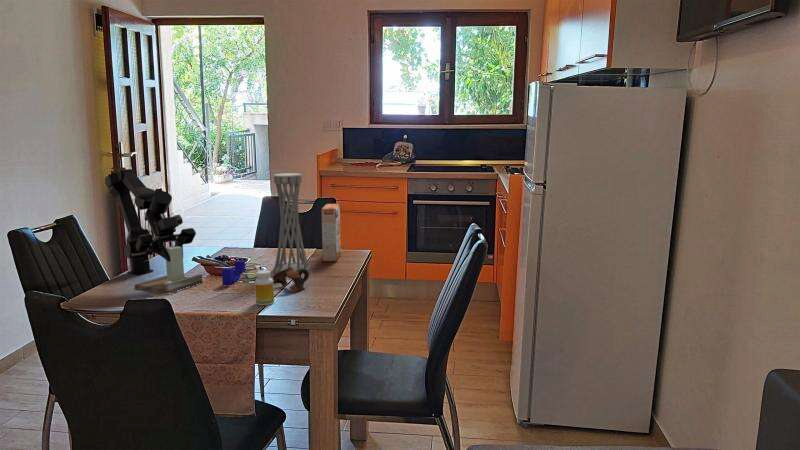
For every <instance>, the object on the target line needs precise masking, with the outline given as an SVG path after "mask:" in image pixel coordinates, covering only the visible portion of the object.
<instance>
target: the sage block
mask: <svg viewBox="0 0 800 450" xmlns="http://www.w3.org/2000/svg"><path fill="white" fill-rule="evenodd" d="M164 247H165V246H164ZM165 248H166V250H167V252H168V254H169V256H170V259H171V260H170V262H168V261H167V260H166V259H165V265H166V266H165V267H166V275H167V280H169V281H171V282H175V281H178V280H181V279H184V277H185V269H184V268H185V267H184V252H183V253H182V247H179V246H174V245H172V246H166V247H165Z"/></svg>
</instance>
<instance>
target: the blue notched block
mask: <svg viewBox="0 0 800 450" xmlns="http://www.w3.org/2000/svg"><path fill="white" fill-rule="evenodd" d="M232 269H234V270H232ZM244 271H246V260H235V261H234V268H232V267H223V268H221V278H222V279H221V280H222V286H223V285H232V284H234V283H235V282H237V281H238V280H239V278H240V274H242V273H243V272H244ZM238 282H239V281H238ZM238 282H237V283H238ZM235 284H236V283H235ZM235 284H234V285H235ZM232 286H233V285H232Z"/></svg>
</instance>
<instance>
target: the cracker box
mask: <svg viewBox="0 0 800 450" xmlns="http://www.w3.org/2000/svg"><path fill="white" fill-rule="evenodd" d="M321 235H322V236H321V238H322V239H321V240H322V243H321V244H322V246H321V247H322V261H323V262H330V263H331V262H333V263H334V262H338V260H339V257H340V255H341V252H342V251H341V205H340V203H326V204H325V205H324V206H323V207H322V208H321Z"/></svg>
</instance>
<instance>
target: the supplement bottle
mask: <svg viewBox="0 0 800 450" xmlns="http://www.w3.org/2000/svg"><path fill="white" fill-rule="evenodd" d="M273 281H274V279H273V278H272V277H271V271H270V270H266V269H265V270H264V269H263V270H258V271H256V279H254V294H255V304H256V305H257V304H258V306H261V305H265V306H270V305H273V304H274V302H275V296H274V295H275V294H274V292H275V291H274V283H273Z"/></svg>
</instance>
